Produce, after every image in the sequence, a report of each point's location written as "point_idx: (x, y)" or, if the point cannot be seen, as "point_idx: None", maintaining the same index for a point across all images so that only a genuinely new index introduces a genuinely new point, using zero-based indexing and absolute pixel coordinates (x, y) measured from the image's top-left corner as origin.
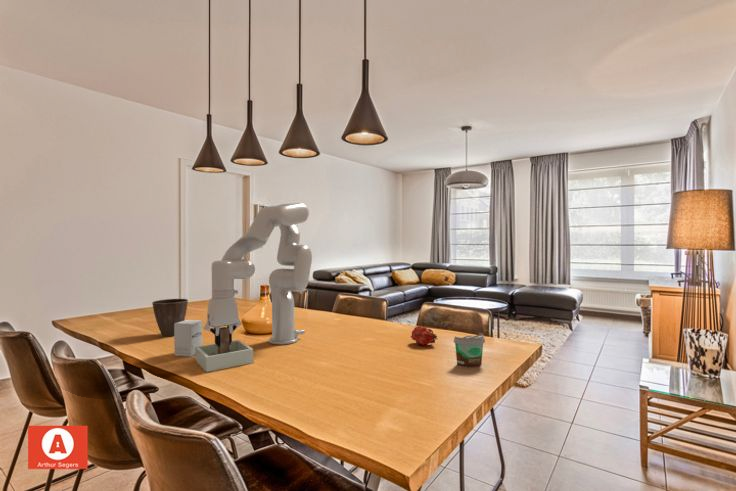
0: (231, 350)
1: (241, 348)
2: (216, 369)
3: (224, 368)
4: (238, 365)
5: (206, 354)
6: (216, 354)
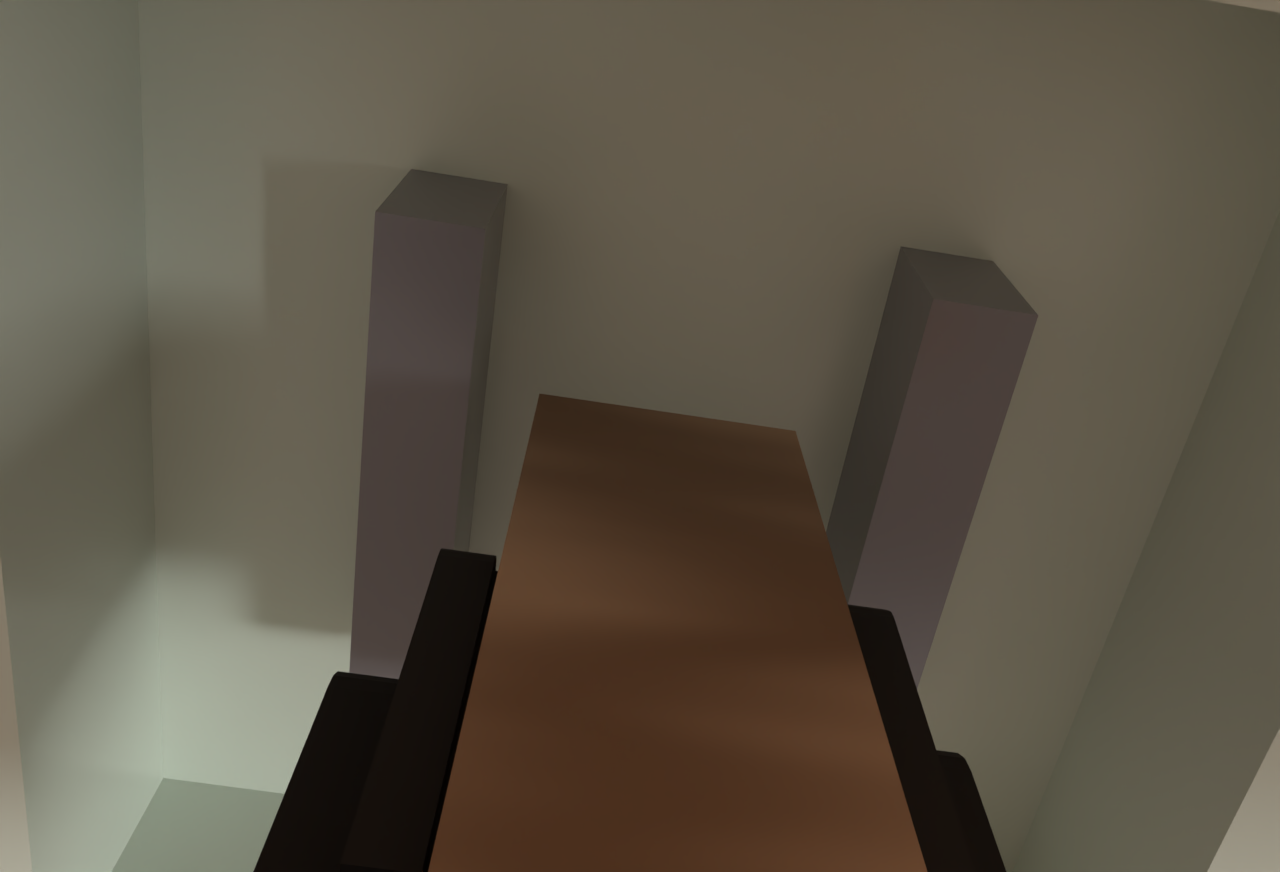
0: (970, 425)
1: (1271, 494)
2: None
3: None
4: None
5: (22, 850)
6: (457, 483)
